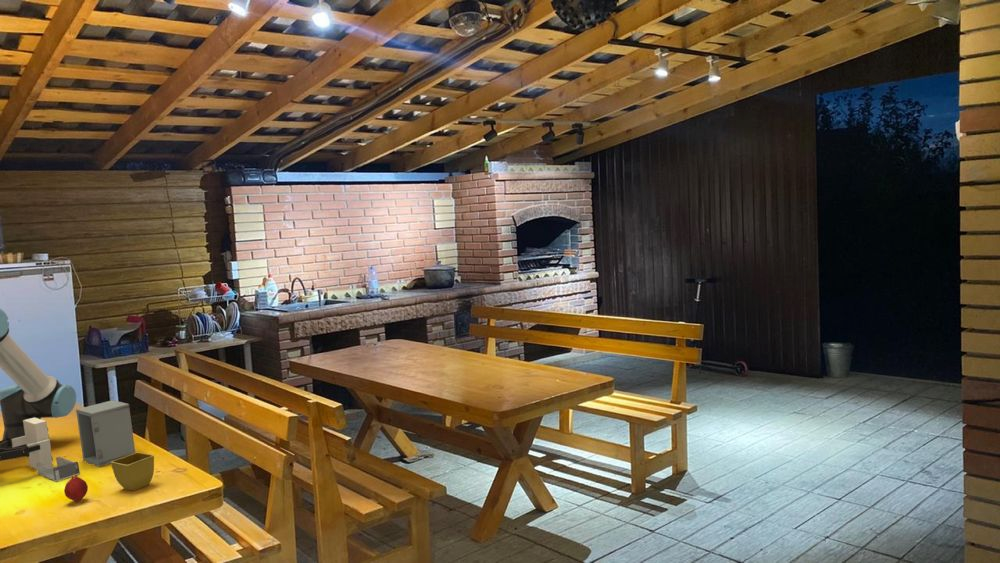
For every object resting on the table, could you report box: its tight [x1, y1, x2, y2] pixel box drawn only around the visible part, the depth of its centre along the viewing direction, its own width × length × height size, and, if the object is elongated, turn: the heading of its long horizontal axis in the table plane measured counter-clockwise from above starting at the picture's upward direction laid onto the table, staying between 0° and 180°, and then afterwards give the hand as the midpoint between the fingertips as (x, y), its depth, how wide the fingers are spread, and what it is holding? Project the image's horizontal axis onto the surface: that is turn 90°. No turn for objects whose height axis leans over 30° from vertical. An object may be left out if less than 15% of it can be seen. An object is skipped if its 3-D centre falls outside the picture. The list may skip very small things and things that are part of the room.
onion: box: [64, 475, 89, 503], centre depth 214 cm, size 6×6×8 cm
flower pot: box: [110, 451, 155, 492], centre depth 222 cm, size 9×9×9 cm
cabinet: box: [75, 400, 136, 468], centre depth 251 cm, size 13×12×18 cm
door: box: [23, 417, 54, 470], centre depth 248 cm, size 10×4×16 cm, turn 51°
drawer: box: [36, 456, 81, 483], centre depth 240 cm, size 15×7×4 cm, turn 51°
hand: (41, 440), depth 249 cm, fingers open, 13 cm apart
